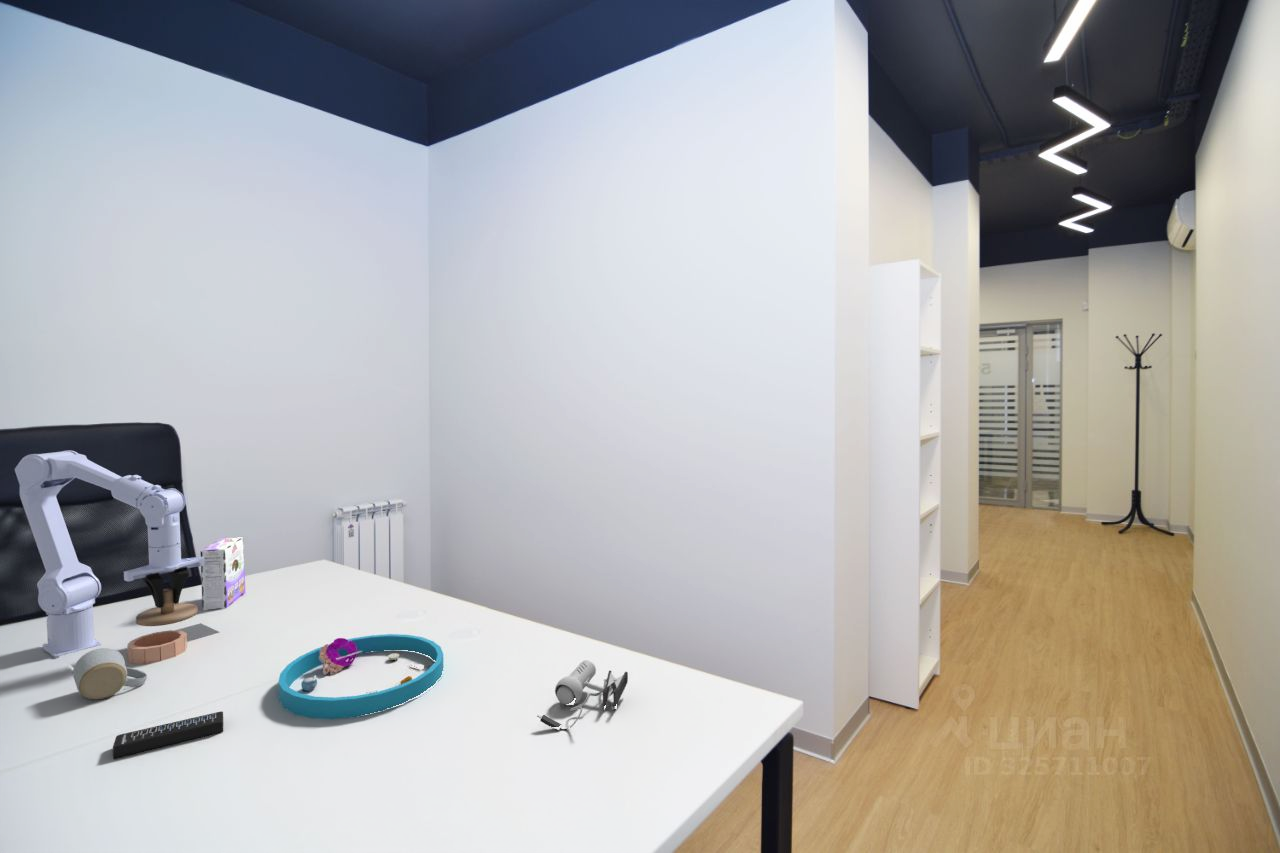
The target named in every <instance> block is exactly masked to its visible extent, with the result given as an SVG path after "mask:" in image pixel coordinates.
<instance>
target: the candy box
mask: <svg viewBox="0 0 1280 853" xmlns="http://www.w3.org/2000/svg"><path fill="white" fill-rule="evenodd" d="M244 547H245V546H244V537H243V536H239V537H237V536H236V537H221V538H219V539H218V540H216V541H214V542H213V543H212V544H209V545H208V546H206V547H205V548H203V549H200V551H199V552H200V553H199V554H200V557H204V566H200V573H201V574H200V575H201V576H200V577H201V579H200V580H201V603H202V604H201V606H202V608H201V609H202V611H210V610H211V611H213V610H226V609H228V608H229V607H230V606H231V605H232V604H234V603H235V602H236V601H237V600H238V599H239V598H241V597H243V595H244V594H246V575H245V551H244V550H245V549H244Z"/></svg>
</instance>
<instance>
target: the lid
mask: <svg viewBox="0 0 1280 853" xmlns="http://www.w3.org/2000/svg"><path fill="white" fill-rule="evenodd" d="M198 611H199V610H198V605H196V604H194V603H188V602H187V603H185V602H184V603H183V602H181V603H177V604H174V595H173V589H171V588H163V607H161V608H158V607H156V606H155V607H151V608H149V609H146V610H143V611H142V612H140V613H139V614H137V615H136V616H135V622H136V625H138V626H142V627H158V626H159V627H160V626H167V625H172V624H176V623H181V622H183V621H186V620H188V619H192V618H194V616H196V615H197V614H198V613H199V612H198Z"/></svg>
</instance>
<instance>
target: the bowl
mask: <svg viewBox="0 0 1280 853" xmlns="http://www.w3.org/2000/svg"><path fill="white" fill-rule="evenodd" d="M176 630H177V629H174V630H172V629H170V630H164V631H155V632H152V633H148V634H145V635H141V636H139V637H136V638H134V639H132V640H130V641H129V642H128V644H127V645H126V646H127V650H126V651H127V661H128V662H130V663H132V664H142V665H143V664H144V665H145V664H152V663H158V662H162V661H166V660H169V659H174V658H176V657H177V656H179V655H182V654H183V653H185V652H186V651H187V649H188V642H187V633H185V632H183V631H176Z"/></svg>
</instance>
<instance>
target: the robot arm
mask: <svg viewBox="0 0 1280 853" xmlns="http://www.w3.org/2000/svg"><path fill="white" fill-rule="evenodd" d="M14 472H15V474H16V478H17V481H18V484H19V498H20V500H21V504H22V506H23V509H24V513H25V515H26V518H27V521H28V524H29V526H30V529H31V532H32V535H33V538H34V541H35V544H36V547H37V549H38V553H39V555H40V558H41V560H42V564H43V566H44V569H45V572H44V574H43V575H42V577H41V578H40V579H39V580H38V582H37V584H36V586H37V589H38V590H37V591H38V595H37V602H38V606H39V607H40V608H41V610H43V611H44V612H45V615H47V617H46V630H47V631H46V632H47V633H46V634H47V644H43V645H42V646H41V648H42V650H44V651H45V652H47V653H49V654H50V655H51V656H52V657H54V658H60V657H62V656H65V655H69V654H72V653H76V652H79V651H83V650H87V649H91V648H94V647H99V646H102V642H100V641H99V640H97V639H95V624H94V608H93V607H94V606H93V605H94V604H96V598H98V597H99V595H101V591H102V583H101V582H100V579H99V578H98V577H97V576H96V575H95V574H94V572H93V569H92V568H91V566H88V565H86V564H84V563H83V562H82V563H81V562H80V561H79V559H78V557H77V554H76V550H75V548H74V545H73V542H72V539H71V536H70V534H69V531H68V528H67V525H66V522H65V518H64V515H63V513H62V511H61V507H60V504H59V502H58V498H57V495H58V494H59V493H60V492H61V490H62V489H63V488H65V486H66V485H68V484H69V483H70V482H72V481H73V480H75V479H78V480H81V481H83V482H87V483H89V484H93V485H94V486H96V487H97V486H98V487H99V488H100V487H101V488H102V489H106V490H108V491H110V492H111V496H112V497H113V499H115V500H117V501H119V502H122V503H124V504H126V505H129V506H132V507H133V508H135V509H138V510H139V512H140V514H141V515H142V516H143V518H144V521H145V525H146V526H147V543H148V544H147V545H148V547H147V548H148V549H147V550H148V564H147V565H143V566H140V567H137V568H133V569H129V570H125V571H124V570H123V580H124V581H125V582H133V581H134V580H137V579H141V581H142V582H143V583H144V584H145V586H146V587H147V589H148V590H149V592H150V594H151V597H152V598H153V602H154V606H155V607H158V608H161V607H163V590H164V583H165V578H162V576H161V575H163V574H167V575H168V579H169V586H170V588H169V589H173V595H174V604H180V603H179V602H180V598H181V594H182V591H183V588H184V585H185V584H186V581H187V580H188V578H189V576H190V570H189V569H190V568H196V567H200V568H201V566H204V557H201V555H200V556H194V557H188V558H182V549H181V548H182V547H181V546H182V545H181V544H182V543H181V523H180V522H181V521H180V518H181V517H180V512H182V511H183V510H184V508H185V505H186V498H185V496H184V494H183V493H182V492H181V491H179V490H178V489H176V488H174V487H173V488H172V487H171V488H167V489H164V488H162V485H159V484H155V485H154V484H153V483H150V482H148V481H145V480H144V479H142V476H140V475H138V474H134V475H131V474H128V475H125V476H121V475H118V474H116V473H115V472H113V471H111V470H109V469H108V468H105V467H103V466H101V465H99V464H97V463H95V462H94V461H91V460H90V459H88V458H87V455H85V454H81V453H78V452H77V451H74V450H71V449H70V450H63V451H62V450H61V451H56V452H47V453H45V452H44V453H33V454H32V453H31V454H27V455H25V456H24V457H22V459H20V460H19V462H18V464H17V465H16V467H15V468H14Z"/></svg>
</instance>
